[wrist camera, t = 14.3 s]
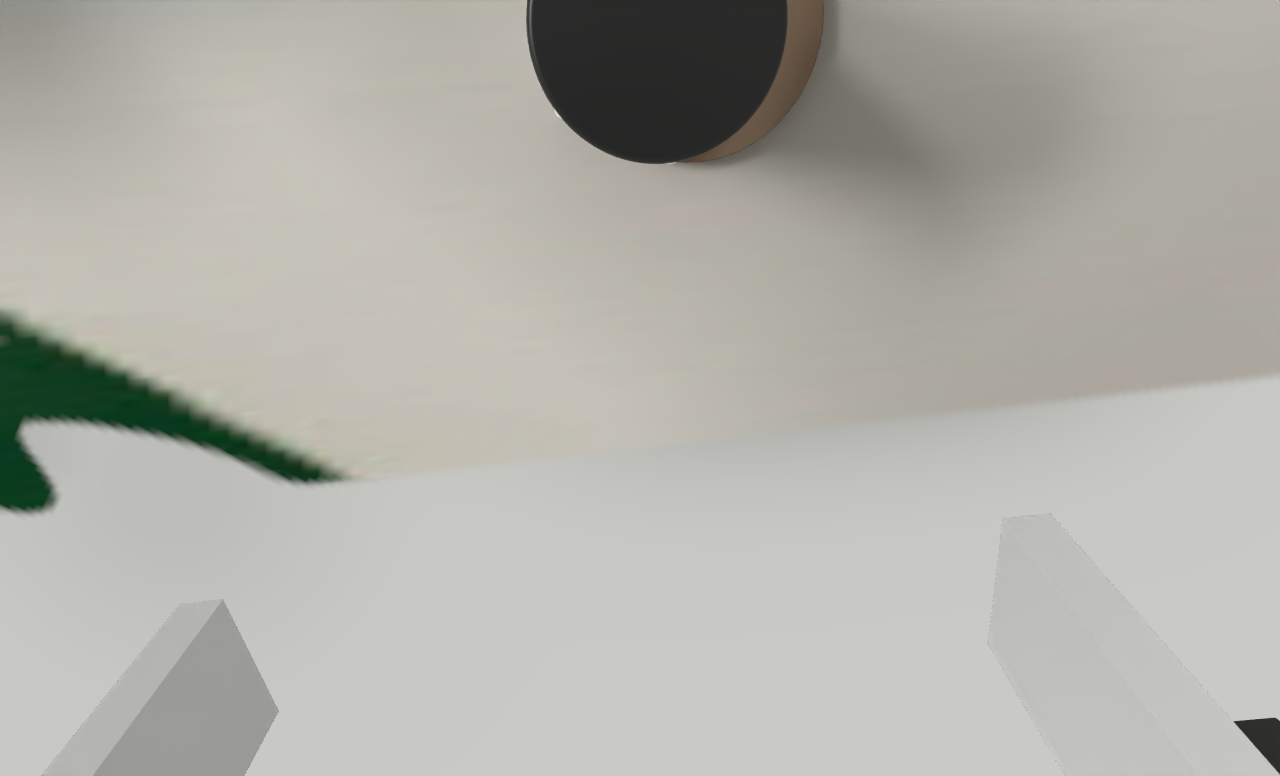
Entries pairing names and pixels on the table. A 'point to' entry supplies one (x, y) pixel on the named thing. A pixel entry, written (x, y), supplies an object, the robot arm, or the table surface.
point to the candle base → (781, 77)
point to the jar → (656, 70)
